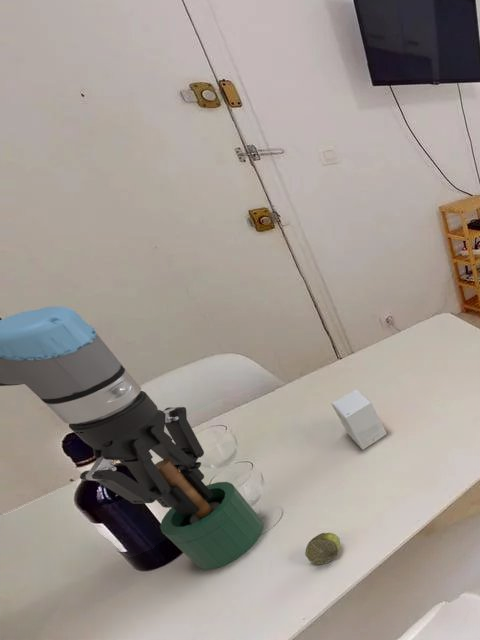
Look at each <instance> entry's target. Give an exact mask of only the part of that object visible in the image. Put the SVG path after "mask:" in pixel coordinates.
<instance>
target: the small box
mask: <svg viewBox="0 0 480 640" xmlns="http://www.w3.org/2000/svg"><path fill="white" fill-rule="evenodd" d="M330 405H331V406H332V408H333V410H334V411H335V413H336V415H337V417H338V419H339V420H340V422H341V424H342V426H343V427H344V429H345V431H346V433H347V435H348V436H349V437H350V438H351V439H352V441H354V442H355V443H356V445H358V447H359V448H360V450H363V451H364V450H365V449H366V448H368V447H370V446H371V445H373V444H374V443H376V442H378V441H379V440H381V439H382V438H383V437H385V436H386V435H387V434H388V433H387V431H386V429H385V427H384V425H383V423H382V421H381V419H380V416H379V414H378V413H377V411H376V409H375V407H374V404H373V403H372V401H370V399H368V398H367V397H366V396H365V395H364V394H363V393H362V392H361V391H360V390H358V389H354V390H352V391H350V392H349V393H347V394H344V395H343V396H342V397H340V398H338V399H336V400H334V401H332V402H331V404H330Z"/></svg>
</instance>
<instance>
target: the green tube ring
mask: <svg viewBox="0 0 480 640" xmlns="http://www.w3.org/2000/svg"><path fill="white" fill-rule="evenodd" d="M206 486H207V488H208V489H209V490H210V491H211V492H212V493H213V494H214V495H213V496H212V497H211V498H210V499H205V500H206V501H207V502H208V503H211V502H218V503H220V505H219V506H218V507H217V508H216V509H215V510H214V511H213V512H212V513H210V514H209V515H208V516H206V517H204V518H203V519H201V520H199V521H197V522H195V523H193V524H191V523H190V517H191V516H192V515H193V514H179V513H178V512H177V511H176V510H175V509H174V508H169V510H168V511H167V512H166V514H165V515H164V516H163V518H162V519H161V522H160V525H159V528H160V531H161V533H162V534H163V535H164V536H165V537H166V538H167V539H168V540H169V541H171V543H173V544H174V546H176V547H177V549H178V550H179V551H181V552H182V553H183V554H184V555H185V556H186V557H187V558H188V559H189V560H190V561H191V562H192V563H193V564H194V565H196V566H197V567H199V568H200V569H201V570H207V571H208V570H209V571H210V570H216V569H219V568H221V567H224V566H226V565H228V564H230V563H233V562H234V561H236V560H237V559H239V558H240V557H242V555H245V553H247V552H248V551H249V550H250V549H251V548H252V547H253V546H254V545H255V543H256V542H257V541H258V540H259V538H260V536H261V535H262V532H263V529H264V522H263V520H262V519H261V518H260V515H258V514H257V512H256V511H255V510H254V509H253V507H252V506H251V505H250V504H249V503H248V501H247V500H246V499H245V498H244V496H243V495H242V494H241V492H240V491H239V490H238V489H237V488H236V487H235V485H234V484H233V483H232V482H228V481H216V482H213V483H210V484H207V485H206Z"/></svg>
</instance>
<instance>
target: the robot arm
mask: <svg viewBox="0 0 480 640" xmlns="http://www.w3.org/2000/svg"><path fill="white" fill-rule="evenodd" d="M20 385H25V386H26V387H27V388H28V389H30V391H32V393H34V394H35V395H36V396H37V397H38V398H39V400H41V401H42V402H43V403H44V404H45V405H46V407H48V408H49V409H50V410H51V411H52V412H53V413H54V414H55V415H56V416H57V417H58V418H59V419H60V420H61V421H62V422H63V423H64V424H68V427H69V429H70V430H71V431H72V432H73V433H74V434H75V435H76V436H78V438H79V439H80V440H82V442H84V443H85V444H86V445H88V447H91V448H92V451H93V456H94V458H95V459H96V460H95V462H94V463H93V465H92V466H91V468H90V470H84V471H83V472H81V473H80V475H79V479H80V480H82V481H91V482H97V483H99V484H100V485H101V486H103V487H105V488H106V489H108V490H110V491H112V492H113V493H115V494H117V495H118V496H120V497H121V498H123V499H125V500H127V501H129V502H130V503H131V504H134V505H139V504H141V505H142V504H153V503H155V502H157V503H158V504H159V505H160V506H162V508H165V509H167V508H168V509H171V508H174V509H175V510H176V511H177V512H178V513H179V514H196V513H197V512H198V511H199V510H200V509H199V508H198V507H197V506H196V505H195V504H194V503H193V502H192V501H191V499H190V498H189V497H188V496H187V495H186V494H185V493H184V492H183V491H182V490H181V489H180V488H179V486H169V485H168V483H167V482H166V480H165V479H164V477H163V476H162V474H161V473H160V471H159V470H158V469H157V467H156V466H155V464H156V463H155V462H154V461H153V460H152V459H153V457H154V456H153V455H152V454H151V452H150V451H152V452H153V453H155V455H157V456H158V457H159V458H161V459H162V460H165V459H169V460H170V461H171V462H172V463H173V464H174V466H175V467H176V468H177V469H178V470H179V471H180V472H181V473H182V475H183V476H184V477H185V478H186V479H187V480H188V481H189V482H190V483H191V485H192V486H193V487H194V488H195V489H196V490H197V491H198V492H199V494H200V495H201V496H202V497H203V498H204V499H210V498H211V497H212V496H213V495H214V494H213V493H212V492H211V491H210V490H209V489H208V488H207V485H206V484H205V483H204V482H203V480H204V479H205V474H204V473H203V472H202V471H201V470H200V469H199V468H201V466H202V462H201V461H198V460H199V458H202V457H203V456H204V454H205V451H204V449H203V447H202V445H201V443H200V442H199V440H198V438H197V436H196V433H195V432H194V430H193V428H192V426H191V424H190V423H189V421H188V417H187V415H188V414H187V408H186V407H185V406H173V407H172V406H171V407H166V408H165V409H164V410H161V409H158V405H156V403H155V402H154V400H153V399H152V398H151V396H149V395H148V394H147V392H145V391H143V390H142V387H141V386H140V385H139V384H138V383H137V381H136V380H135V379H134V378H133V376H132V375H131V374H130V373H129V371H128V370H127V368H125V367H124V366H123V365H122V363H121V362H120V360H119V359H118V358H117V356H116V355H115V354H114V353H113V352H112V351H111V349H110V348H109V346H107V344H106V343H105V342H104V341H103V339H102V337H100V335H99V334H98V333H97V330H96V329H95V328H94V327H93V326H92V324H88V323H87V322H86V320H84V318H82V316H80V315H79V314H78V313H77V311H76V310H74V309H72V308H70V307H66V306H57V305H56V306H46V307H45V306H44V307H41V308H38V309H31V310H30V309H29V310H26V311H22V312H18V313H15V314H13V315H9V316H6V317H4V318H2V319H0V387H9V386H12V387H13V386H20ZM165 428H166V431H168V434H167V433H166V432H165ZM76 432H84V433H76ZM86 434H87V435H86ZM112 461H119V462H120V464H121V465H123V466H126V467H127V469H128V470H129V472H130V473H131V474H132V476H133V477H134V479H136V480H134V479H133V478H131V477H129V476H128V475H126V474H125V473H123V472H120V471H117V467H116V466H115V465H113V464H112V463H111V462H112Z"/></svg>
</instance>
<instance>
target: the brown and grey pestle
mask: <svg viewBox="0 0 480 640" xmlns="http://www.w3.org/2000/svg"><path fill="white" fill-rule="evenodd" d="M154 464H155V466H156V467H157V469H158V470H159V471H160V473H161V474H162V476H163V477H164V479H165V480H166V482H167V483H168V485H169V486H179V488H180V489H181V490H182V491H183V492H184V493H185V494H186V495H187V496H188V497H189V498H190V499H191V501H192V502H193V503H194V504H195V505H196V506H197V507H198V508H199V509H200V510H199V511H198V512H197V513H196V514H193V515H192V516H191V517H190V523H191V524H193V523H195V522H197V521H199V520H201V519H203V518H204V517H206V516H208V515H209V514H210V513H212V512H213V511H214V510H215V509H216V508H217V507H218V506H219V505H220V503H218V502H211V503H208V502H207V501H206V500H205V499H204V498H203V497H202V496H201V495H200V494H199V492H198V491H197V490H196V489H195V488H194V487H193V486H192V485H191V483H190V482H189V481H188V480H187V479H186V478H185V477H184V476H183V475H182V473H181V472H180V471H179V470H178V469H177V468H176V467H175V466H174V464H173V463H172V462H171V461H170V460H169V459H165V460H163V459H162V460H160V461H158V462H156V463H154Z"/></svg>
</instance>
